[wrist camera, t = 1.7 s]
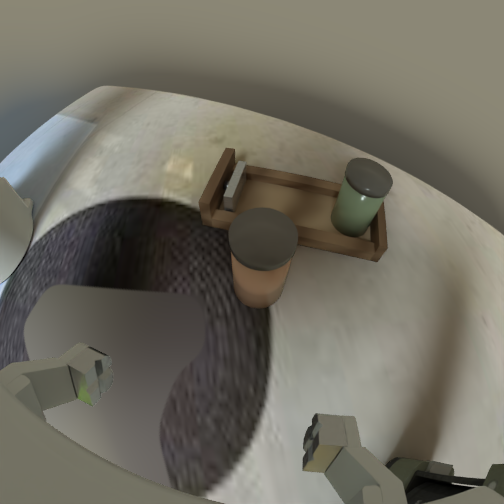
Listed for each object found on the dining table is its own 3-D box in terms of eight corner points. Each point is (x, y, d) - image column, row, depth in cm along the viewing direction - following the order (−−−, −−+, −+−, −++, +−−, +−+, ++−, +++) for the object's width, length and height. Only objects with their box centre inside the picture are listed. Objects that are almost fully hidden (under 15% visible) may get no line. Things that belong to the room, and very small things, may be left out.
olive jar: (328, 232, 32) (347, 184, 25) (330, 201, 34) (346, 153, 28) (368, 242, 31) (395, 197, 24) (367, 210, 34) (389, 165, 27)
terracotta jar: (226, 302, 27) (219, 255, 19) (239, 258, 30) (238, 202, 22) (278, 314, 27) (292, 271, 19) (287, 269, 29) (302, 214, 22)
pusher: (217, 213, 33) (215, 194, 30) (232, 178, 36) (231, 159, 33) (233, 216, 32) (232, 197, 30) (246, 180, 36) (246, 161, 33)
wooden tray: (202, 224, 32) (198, 202, 29) (227, 170, 37) (225, 147, 34) (377, 261, 30) (391, 243, 27) (374, 201, 35) (384, 180, 32)
